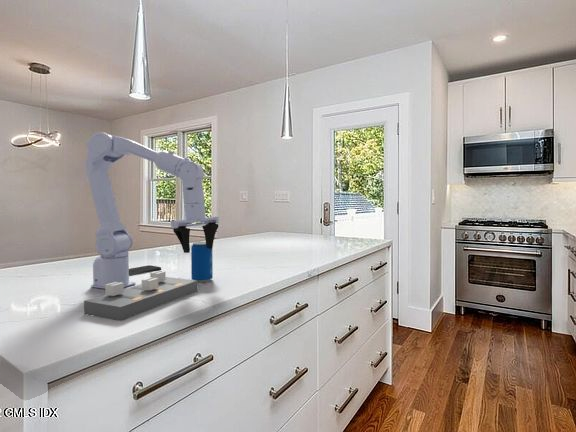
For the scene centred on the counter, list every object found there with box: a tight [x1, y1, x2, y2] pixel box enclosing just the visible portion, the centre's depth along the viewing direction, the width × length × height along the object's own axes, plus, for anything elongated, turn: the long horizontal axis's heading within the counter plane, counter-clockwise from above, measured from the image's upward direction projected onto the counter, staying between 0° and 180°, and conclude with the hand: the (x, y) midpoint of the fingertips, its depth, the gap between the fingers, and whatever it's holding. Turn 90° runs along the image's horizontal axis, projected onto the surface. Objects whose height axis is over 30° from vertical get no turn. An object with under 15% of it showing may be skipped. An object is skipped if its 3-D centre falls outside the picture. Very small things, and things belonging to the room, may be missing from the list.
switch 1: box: [104, 282, 125, 296], centre depth 81 cm, size 2×3×2 cm
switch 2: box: [141, 277, 158, 291], centre depth 86 cm, size 2×3×2 cm
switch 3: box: [149, 270, 167, 282], centre depth 94 cm, size 2×3×2 cm
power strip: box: [83, 276, 199, 322], centre depth 89 cm, size 11×31×3 cm, turn 158°
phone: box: [129, 264, 162, 277], centre depth 122 cm, size 8×1×15 cm
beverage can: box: [190, 241, 214, 283], centre depth 109 cm, size 6×6×12 cm
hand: (198, 250), depth 101 cm, fingers open, 7 cm apart
